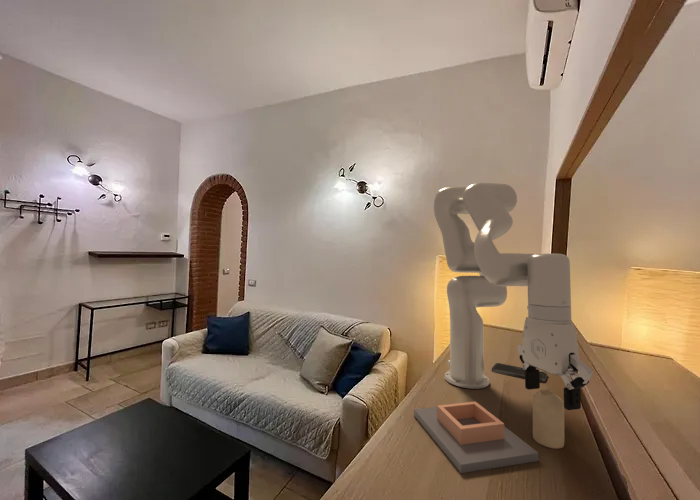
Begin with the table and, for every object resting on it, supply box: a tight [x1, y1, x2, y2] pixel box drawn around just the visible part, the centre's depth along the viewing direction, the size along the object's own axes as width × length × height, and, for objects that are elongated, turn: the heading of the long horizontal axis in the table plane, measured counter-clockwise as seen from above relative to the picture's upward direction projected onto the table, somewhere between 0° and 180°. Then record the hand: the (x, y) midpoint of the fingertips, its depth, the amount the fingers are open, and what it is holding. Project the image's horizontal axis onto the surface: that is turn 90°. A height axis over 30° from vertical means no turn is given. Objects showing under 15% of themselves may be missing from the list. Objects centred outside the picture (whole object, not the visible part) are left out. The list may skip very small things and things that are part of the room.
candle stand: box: [413, 401, 540, 474], centre depth 67 cm, size 20×16×4 cm
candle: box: [532, 389, 565, 450], centre depth 65 cm, size 6×6×10 cm
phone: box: [491, 362, 548, 383], centre depth 102 cm, size 8×1×15 cm
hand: (551, 398), depth 64 cm, fingers open, 9 cm apart
